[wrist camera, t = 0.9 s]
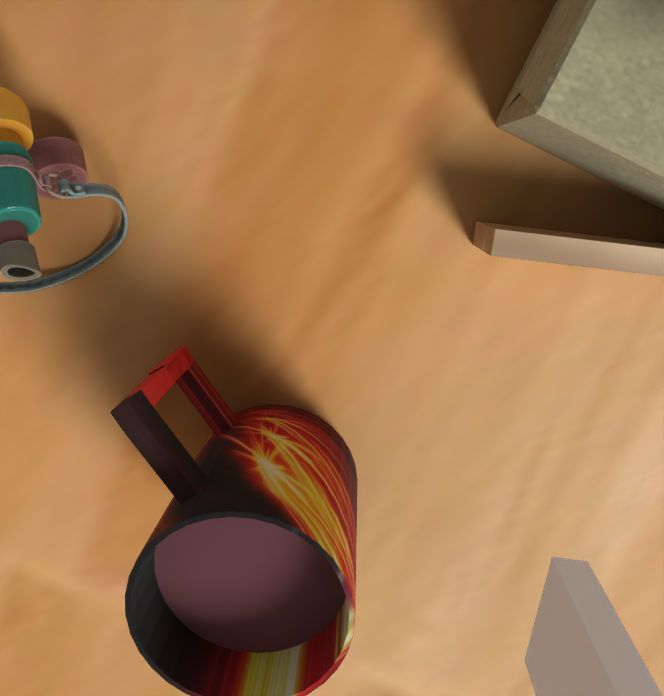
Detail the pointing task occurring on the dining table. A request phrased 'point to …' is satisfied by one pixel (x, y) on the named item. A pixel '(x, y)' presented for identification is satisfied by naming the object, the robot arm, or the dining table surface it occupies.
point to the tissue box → (597, 92)
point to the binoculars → (39, 180)
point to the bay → (570, 248)
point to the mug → (243, 545)
